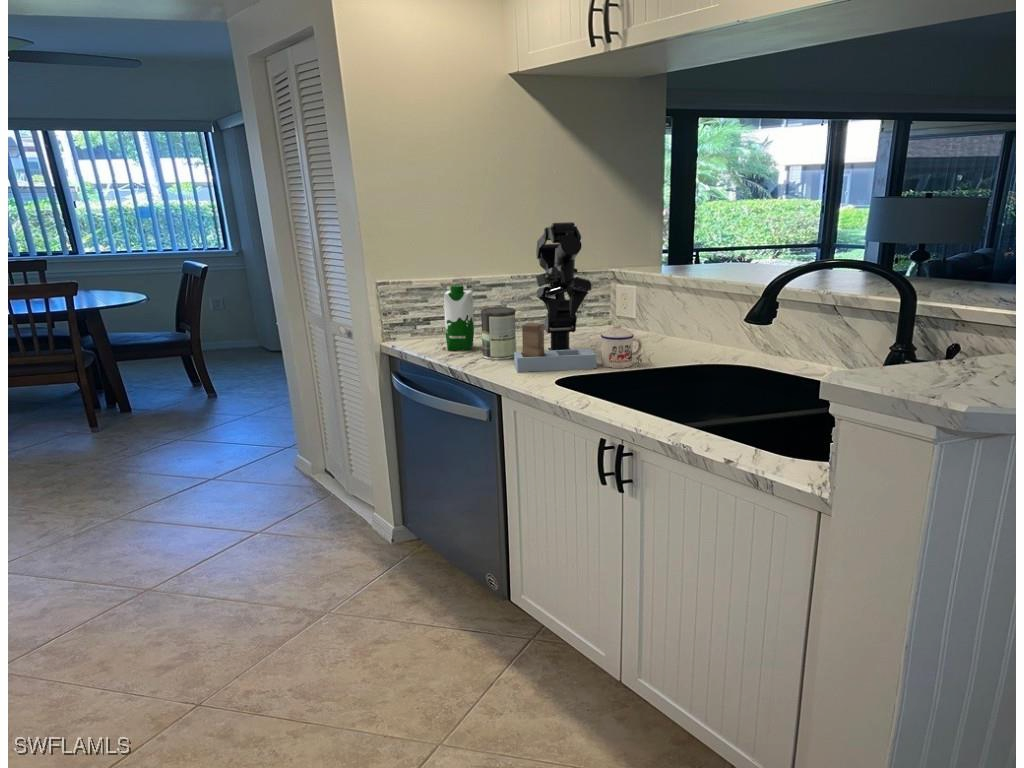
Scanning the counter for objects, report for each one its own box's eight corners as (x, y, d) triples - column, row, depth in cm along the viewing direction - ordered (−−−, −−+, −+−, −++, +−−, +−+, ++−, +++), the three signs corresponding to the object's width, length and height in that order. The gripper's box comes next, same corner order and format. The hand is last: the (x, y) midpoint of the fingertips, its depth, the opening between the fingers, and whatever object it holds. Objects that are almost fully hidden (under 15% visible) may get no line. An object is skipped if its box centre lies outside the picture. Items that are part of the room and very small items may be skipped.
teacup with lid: (607, 370, 210) (608, 328, 207) (595, 362, 219) (596, 322, 216) (648, 366, 213) (649, 325, 210) (634, 359, 222) (635, 319, 219)
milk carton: (444, 351, 239) (441, 287, 234) (449, 345, 247) (446, 283, 242) (472, 351, 238) (469, 287, 233) (476, 345, 246) (474, 283, 241)
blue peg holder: (517, 372, 210) (517, 358, 209) (514, 365, 217) (514, 352, 216) (596, 368, 212) (596, 354, 211) (590, 362, 220) (590, 348, 219)
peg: (529, 366, 217) (528, 322, 214) (544, 367, 215) (543, 323, 212) (523, 369, 213) (522, 325, 210) (537, 370, 211) (537, 326, 208)
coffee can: (475, 358, 228) (473, 311, 225) (494, 351, 237) (492, 306, 233) (504, 361, 223) (503, 313, 220) (522, 354, 232) (521, 308, 228)
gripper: (522, 266, 222) (519, 319, 220) (561, 252, 206) (559, 309, 204) (553, 273, 228) (551, 325, 226) (593, 260, 212) (591, 315, 210)
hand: (562, 319), depth 216 cm, fingers open, 9 cm apart
